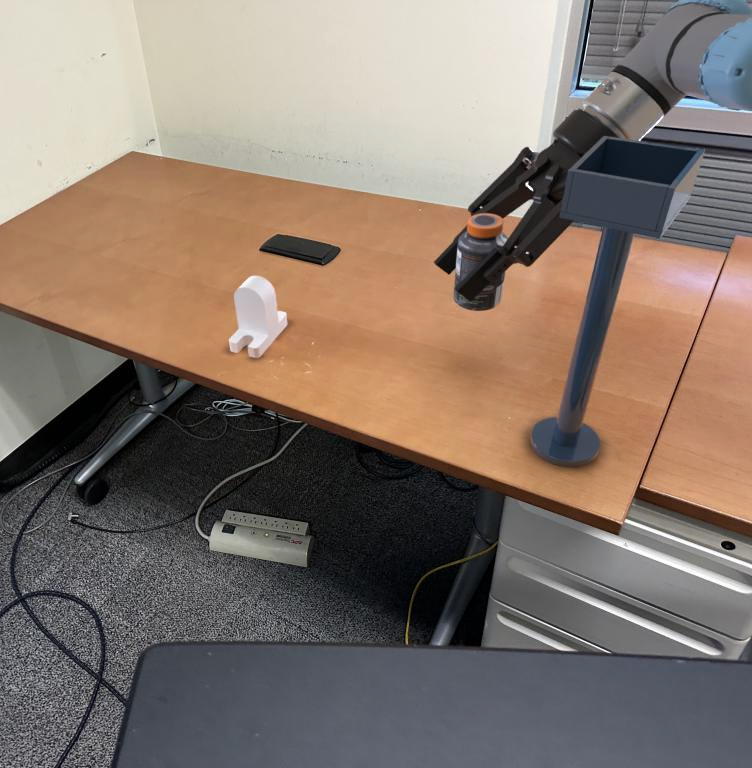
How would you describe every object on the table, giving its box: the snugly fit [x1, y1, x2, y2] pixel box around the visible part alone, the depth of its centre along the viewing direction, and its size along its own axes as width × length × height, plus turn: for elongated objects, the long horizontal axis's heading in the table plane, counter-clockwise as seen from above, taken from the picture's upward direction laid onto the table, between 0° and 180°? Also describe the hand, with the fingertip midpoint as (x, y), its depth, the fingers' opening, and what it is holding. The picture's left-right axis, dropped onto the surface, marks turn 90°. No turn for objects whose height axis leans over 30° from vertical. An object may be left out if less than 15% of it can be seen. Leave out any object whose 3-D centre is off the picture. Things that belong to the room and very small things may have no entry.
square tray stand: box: [529, 136, 706, 468], centre depth 72 cm, size 8×8×36 cm
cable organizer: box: [228, 275, 288, 359], centre depth 104 cm, size 5×10×10 cm, turn 149°
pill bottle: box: [452, 213, 509, 312], centre depth 85 cm, size 6×6×11 cm
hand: (451, 281), depth 86 cm, fingers closed on pill bottle, 6 cm apart
